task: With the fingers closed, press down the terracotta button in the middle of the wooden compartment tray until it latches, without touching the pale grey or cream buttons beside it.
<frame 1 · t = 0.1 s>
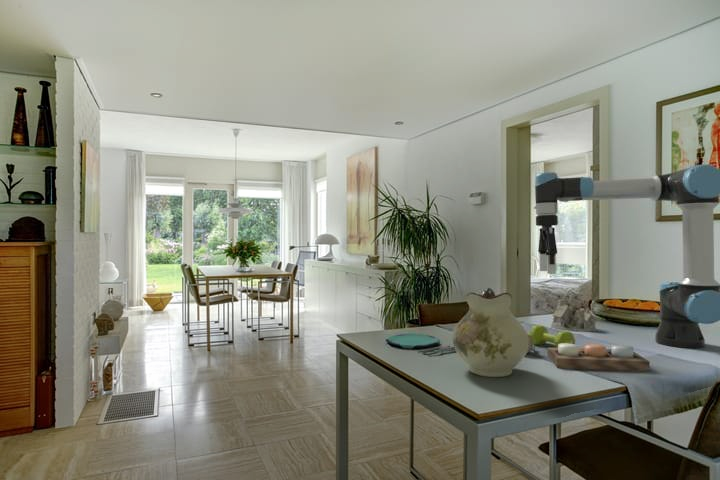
hand: (547, 272, 163), 28 cm above the table, fingers open, 13 cm apart
cream button: (568, 351, 144), point 4 cm above the table, slide at 0.0 cm
ceramic mug: (520, 351, 159), on the table
terracotta button: (595, 352, 142), point 4 cm above the table, slide at 0.0 cm
wooden compartment tray: (595, 363, 142), on the table
dumbbell: (551, 348, 164), on the table
grey button: (622, 353, 141), point 4 cm above the table, slide at 0.0 cm
pitcher: (489, 371, 136), on the table
cutlery set: (420, 347, 169), on the table
ceramic cottage: (572, 329, 197), on the table
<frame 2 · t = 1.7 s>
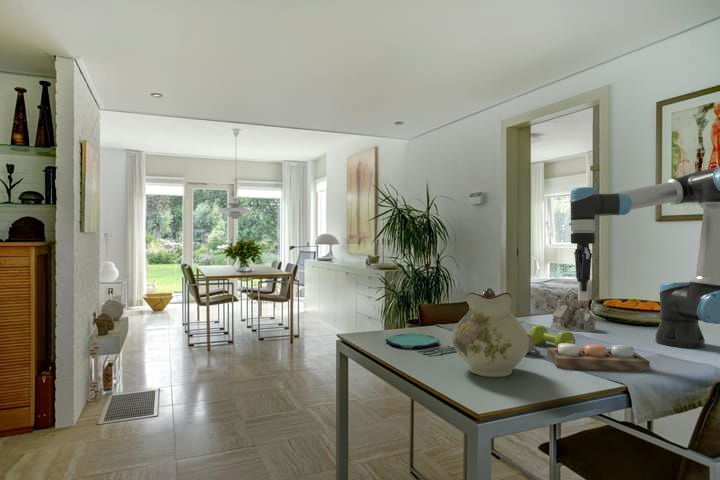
hand: (583, 300, 153), 19 cm above the table, fingers closed
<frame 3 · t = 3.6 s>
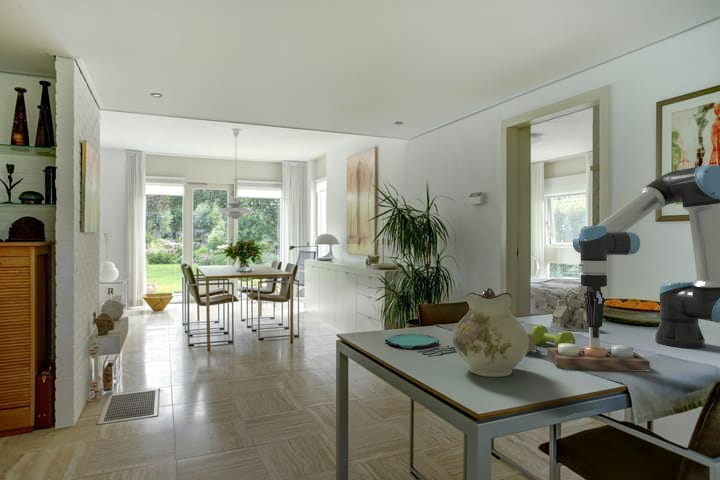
hand: (594, 347, 142), 5 cm above the table, fingers closed
terracotta button: (595, 354, 142), point 3 cm above the table, slide at 0.5 cm, touching gripper
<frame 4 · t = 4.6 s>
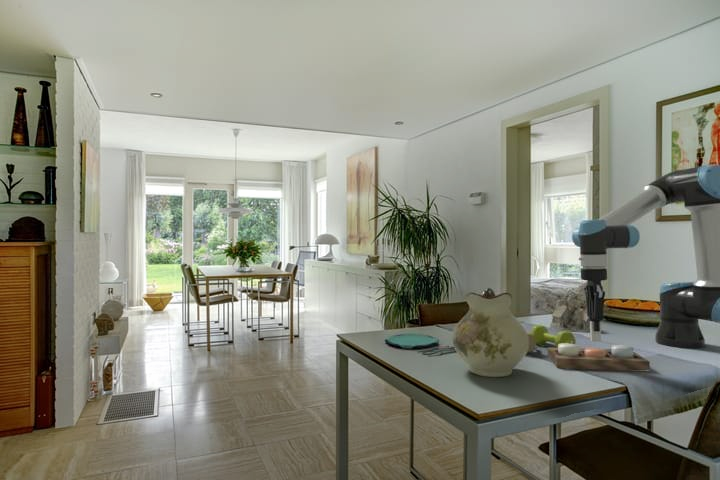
hand: (595, 340, 142), 7 cm above the table, fingers closed
terracotta button: (595, 356, 142), point 2 cm above the table, slide at 1.2 cm
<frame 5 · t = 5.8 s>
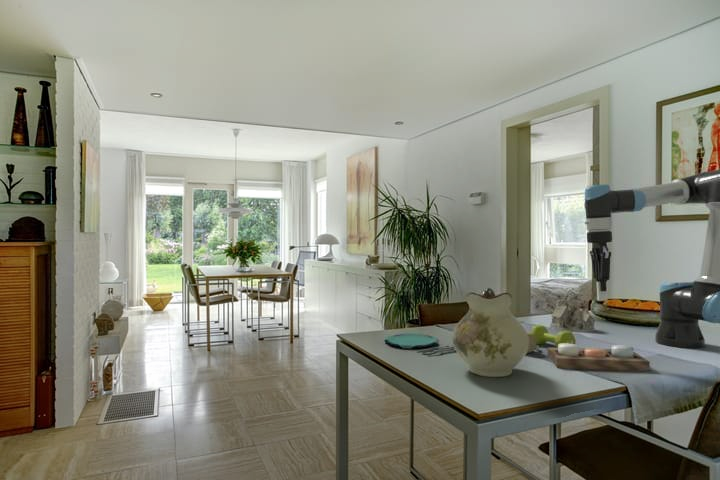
hand: (602, 300, 149), 19 cm above the table, fingers closed
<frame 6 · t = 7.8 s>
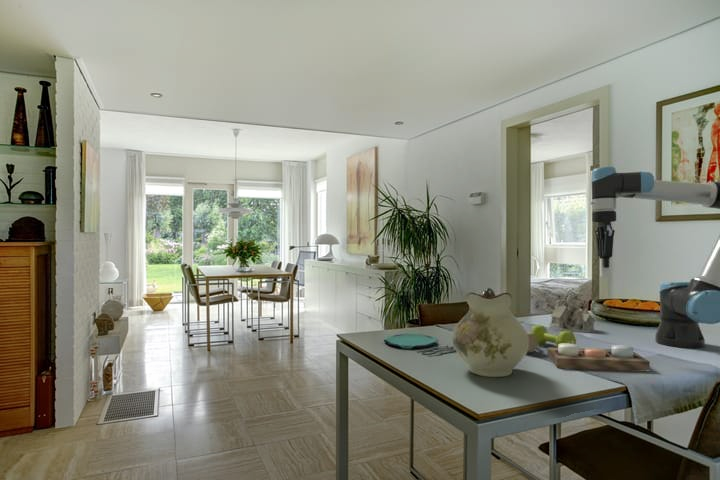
hand: (605, 276, 158), 26 cm above the table, fingers closed
at the end: terracotta button slide at 1.2 cm; grey button slide at 0.0 cm; cream button slide at 0.0 cm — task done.
